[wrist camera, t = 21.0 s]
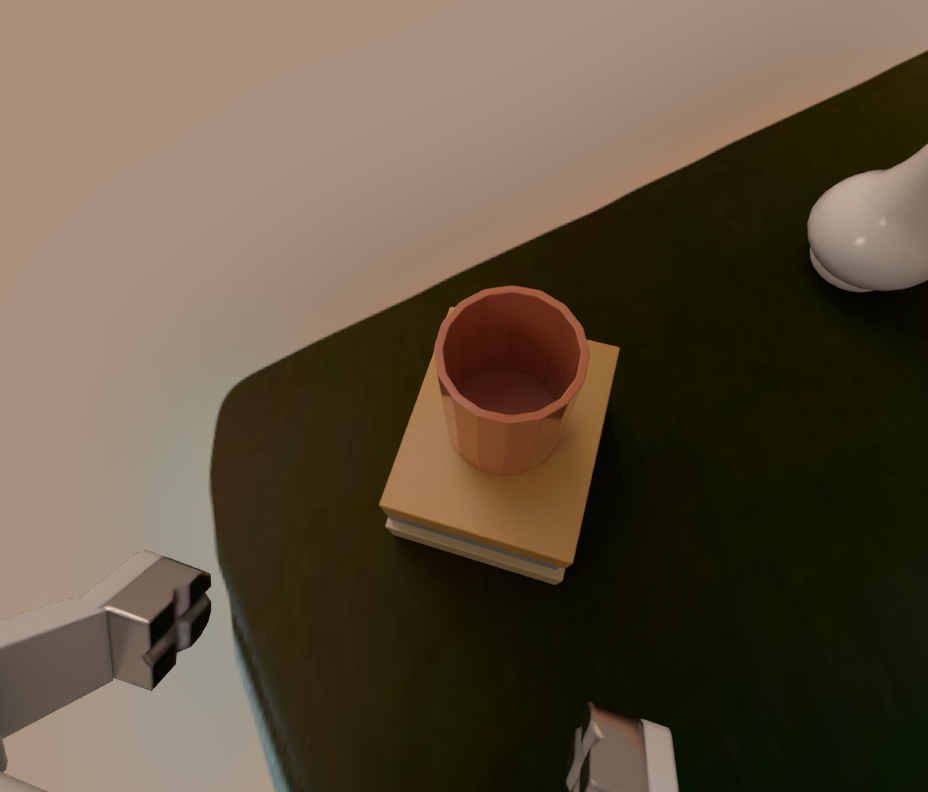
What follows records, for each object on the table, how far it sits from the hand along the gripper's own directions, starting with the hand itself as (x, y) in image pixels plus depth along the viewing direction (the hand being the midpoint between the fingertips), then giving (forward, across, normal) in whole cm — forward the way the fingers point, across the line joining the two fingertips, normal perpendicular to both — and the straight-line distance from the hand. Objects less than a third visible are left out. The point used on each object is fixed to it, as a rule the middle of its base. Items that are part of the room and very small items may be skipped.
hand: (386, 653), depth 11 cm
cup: (+19, 0, +3) cm, 19 cm away
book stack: (+25, 0, +9) cm, 26 cm away
